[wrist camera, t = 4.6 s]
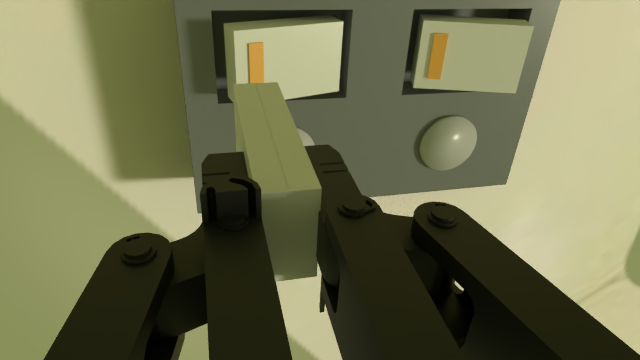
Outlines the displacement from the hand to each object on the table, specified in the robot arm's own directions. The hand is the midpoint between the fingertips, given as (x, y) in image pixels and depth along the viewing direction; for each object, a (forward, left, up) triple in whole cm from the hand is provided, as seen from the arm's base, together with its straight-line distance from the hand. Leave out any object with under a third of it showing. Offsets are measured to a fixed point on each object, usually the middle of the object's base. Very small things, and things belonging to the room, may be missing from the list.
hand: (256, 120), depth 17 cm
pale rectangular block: (0, -2, -8) cm, 8 cm away
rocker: (0, -12, -8) cm, 14 cm away
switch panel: (-3, -7, -12) cm, 14 cm away
